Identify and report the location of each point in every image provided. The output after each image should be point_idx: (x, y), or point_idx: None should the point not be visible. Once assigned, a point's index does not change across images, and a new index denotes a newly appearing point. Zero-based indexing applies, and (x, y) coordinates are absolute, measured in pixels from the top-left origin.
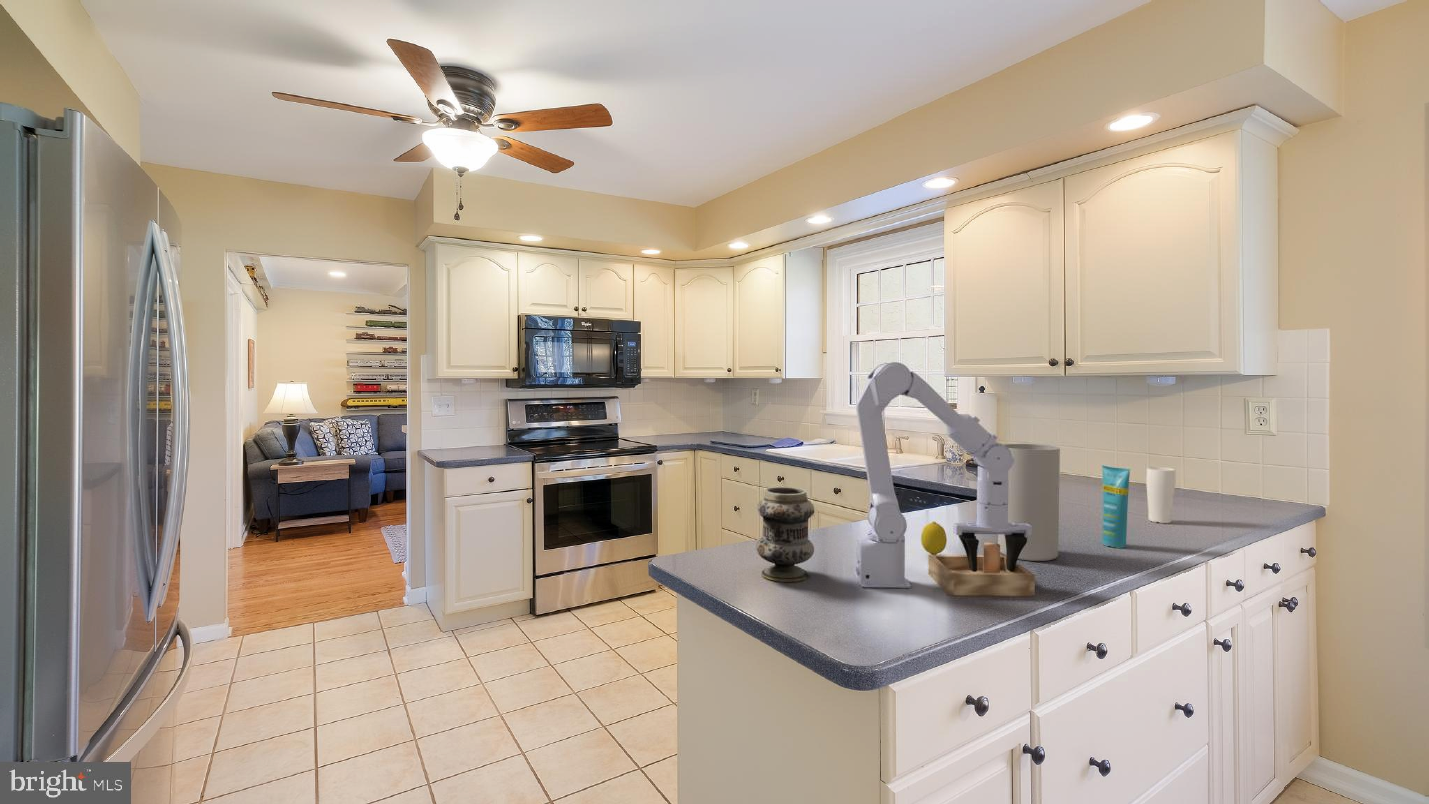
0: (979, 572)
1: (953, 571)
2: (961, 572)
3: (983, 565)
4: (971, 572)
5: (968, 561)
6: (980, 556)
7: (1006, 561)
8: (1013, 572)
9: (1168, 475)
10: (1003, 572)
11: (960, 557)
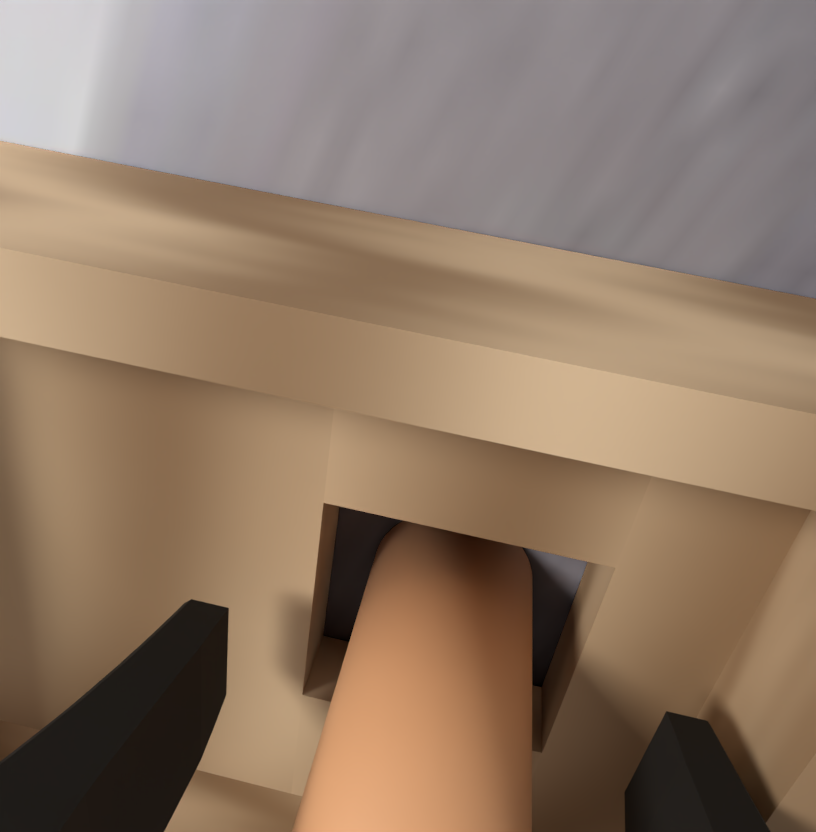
0: (390, 484)
1: (72, 389)
2: (160, 443)
3: (328, 711)
4: (286, 466)
5: (128, 659)
6: (496, 428)
7: (691, 805)
8: (730, 716)
9: None
10: (713, 549)
11: (113, 354)
